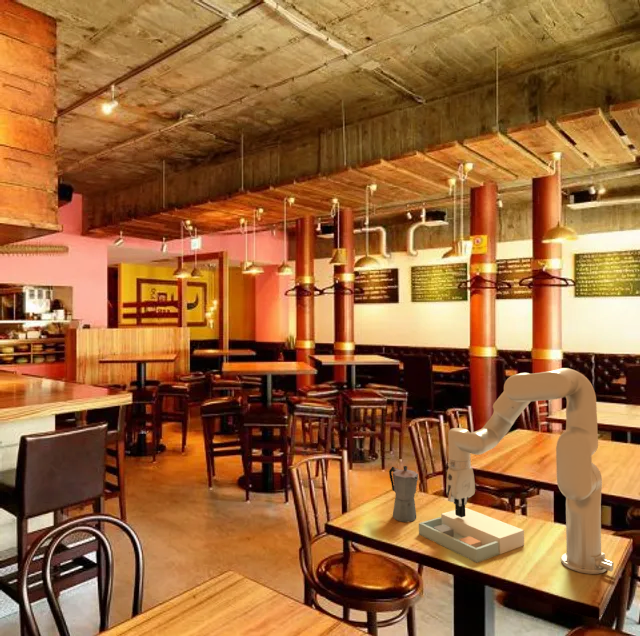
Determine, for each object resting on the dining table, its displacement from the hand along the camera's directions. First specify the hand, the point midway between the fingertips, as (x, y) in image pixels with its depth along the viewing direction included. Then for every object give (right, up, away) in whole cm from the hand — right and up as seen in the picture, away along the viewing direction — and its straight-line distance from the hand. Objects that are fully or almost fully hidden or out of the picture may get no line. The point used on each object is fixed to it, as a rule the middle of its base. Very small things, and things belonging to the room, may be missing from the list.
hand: (460, 515), depth 187 cm
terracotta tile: (-1, -3, -14) cm, 14 cm away
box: (-4, -6, -9) cm, 12 cm away
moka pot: (-18, -7, +15) cm, 24 cm away
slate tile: (-7, -3, -3) cm, 8 cm away
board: (+6, -6, -3) cm, 9 cm away
